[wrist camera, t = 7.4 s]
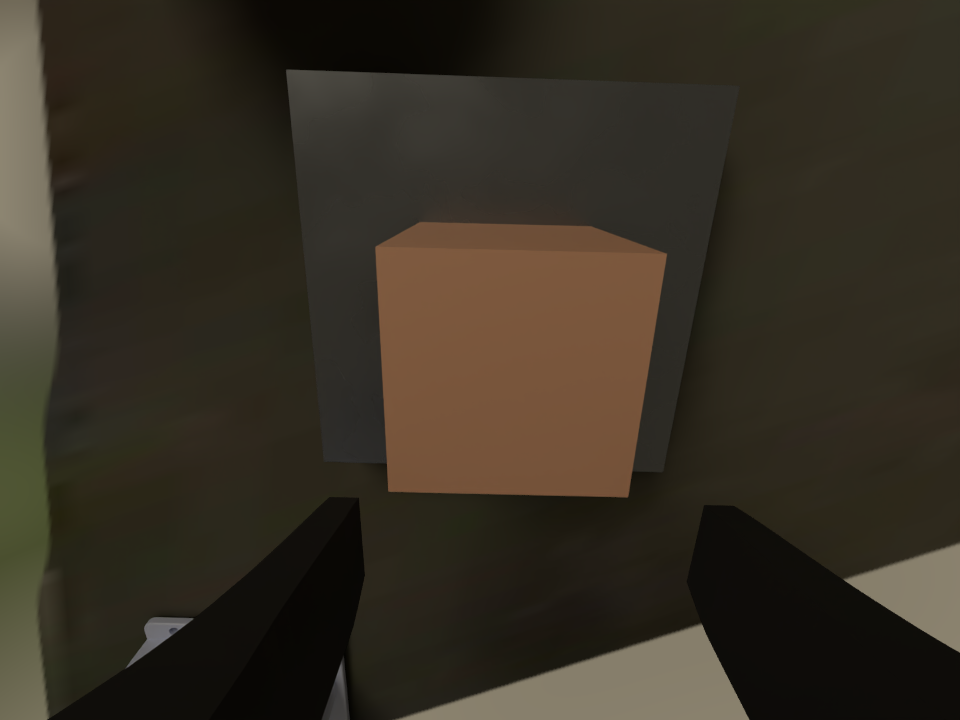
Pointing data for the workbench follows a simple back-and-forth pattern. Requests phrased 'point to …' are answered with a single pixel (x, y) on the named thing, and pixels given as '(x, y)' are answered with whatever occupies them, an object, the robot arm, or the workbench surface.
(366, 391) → the steel base
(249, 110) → the workbench surface
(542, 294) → the terracotta block
